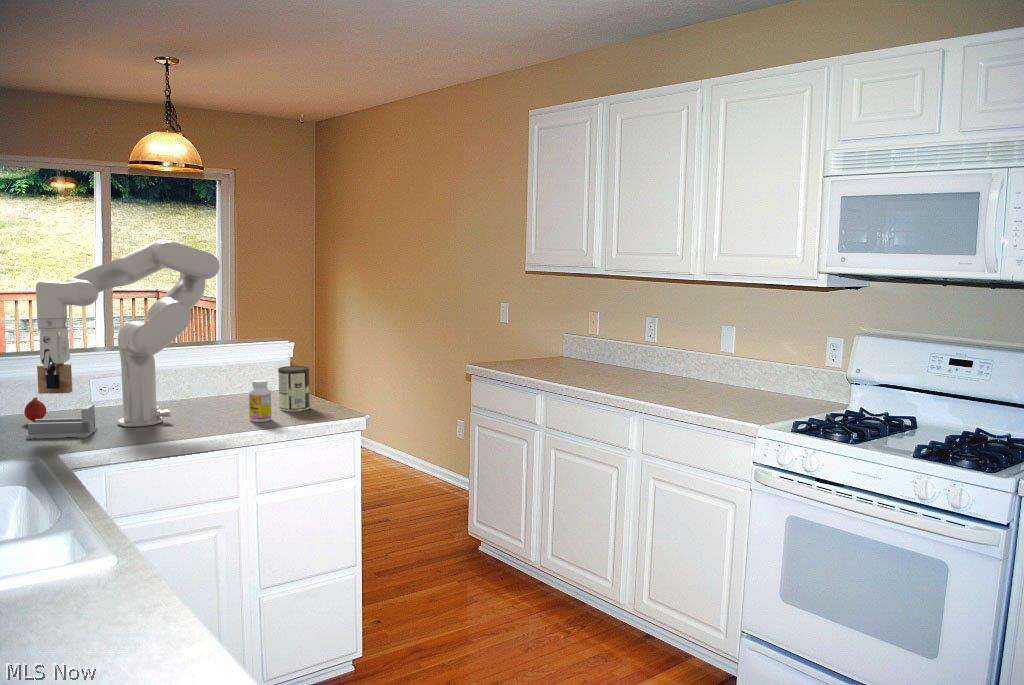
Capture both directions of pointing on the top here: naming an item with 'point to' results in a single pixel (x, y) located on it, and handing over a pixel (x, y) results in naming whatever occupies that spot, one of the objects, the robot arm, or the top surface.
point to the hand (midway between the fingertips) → (55, 386)
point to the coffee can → (293, 388)
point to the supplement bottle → (260, 401)
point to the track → (64, 426)
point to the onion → (35, 410)
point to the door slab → (64, 379)
